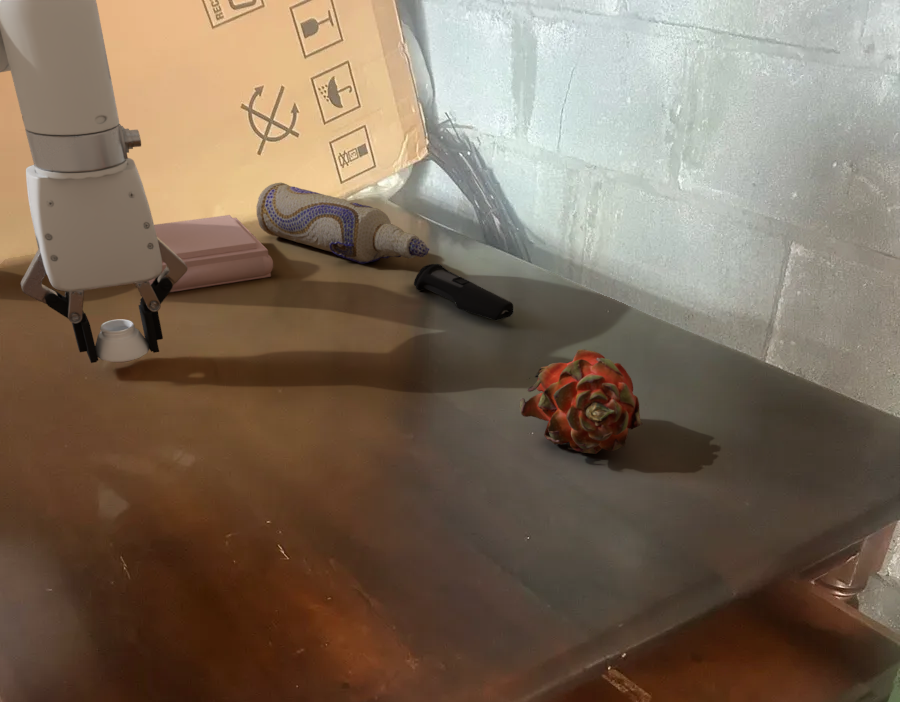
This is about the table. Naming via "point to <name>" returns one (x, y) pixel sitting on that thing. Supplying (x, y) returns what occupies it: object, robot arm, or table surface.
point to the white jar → (120, 342)
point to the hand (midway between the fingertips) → (122, 350)
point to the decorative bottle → (334, 225)
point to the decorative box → (214, 251)
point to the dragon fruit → (585, 403)
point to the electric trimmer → (463, 292)
